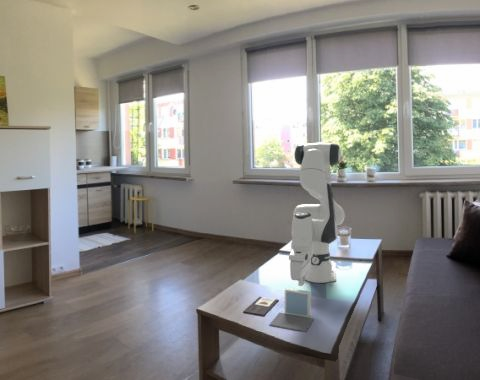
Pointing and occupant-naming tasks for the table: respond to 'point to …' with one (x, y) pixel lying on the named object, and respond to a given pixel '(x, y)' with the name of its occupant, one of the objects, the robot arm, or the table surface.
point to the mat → (292, 322)
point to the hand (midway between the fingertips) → (301, 285)
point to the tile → (297, 302)
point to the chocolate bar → (261, 306)
